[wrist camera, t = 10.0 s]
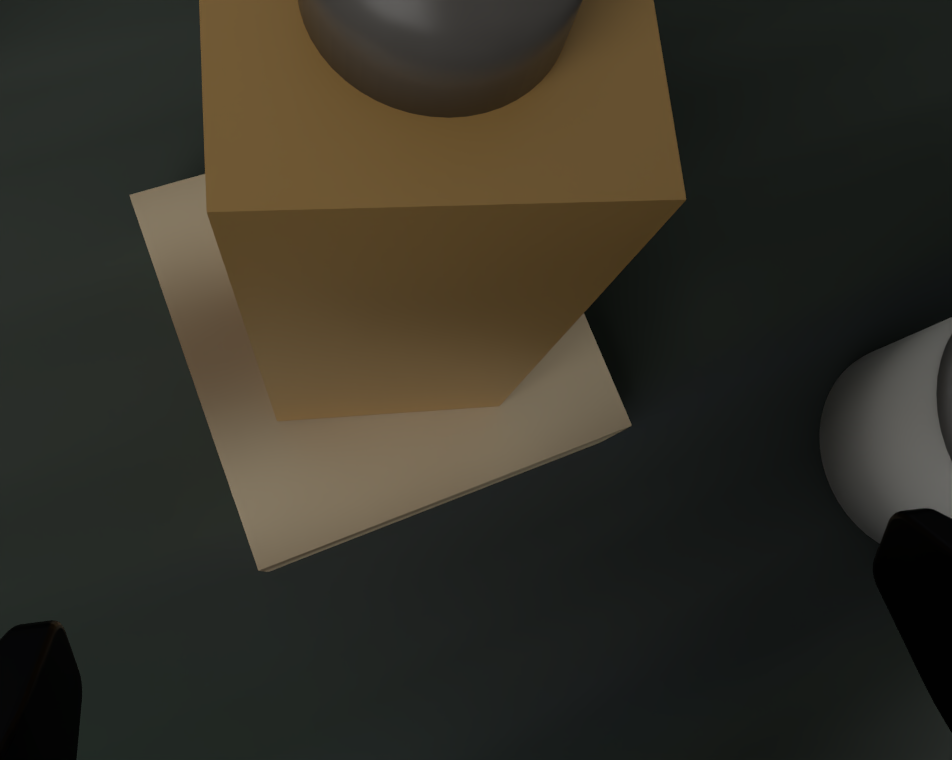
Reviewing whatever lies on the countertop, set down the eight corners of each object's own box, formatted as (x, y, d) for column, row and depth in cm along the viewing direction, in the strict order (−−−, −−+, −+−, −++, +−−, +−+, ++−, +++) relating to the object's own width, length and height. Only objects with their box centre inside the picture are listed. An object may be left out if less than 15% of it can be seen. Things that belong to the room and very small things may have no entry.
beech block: (595, 444, 23) (631, 425, 20) (269, 572, 21) (258, 570, 18) (472, 150, 25) (490, 93, 22) (156, 244, 23) (129, 195, 20)
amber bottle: (499, 406, 20) (750, 128, 8) (277, 421, 19) (180, 135, 7) (477, 205, 21) (669, -309, 9) (265, 210, 20) (166, -351, 8)
